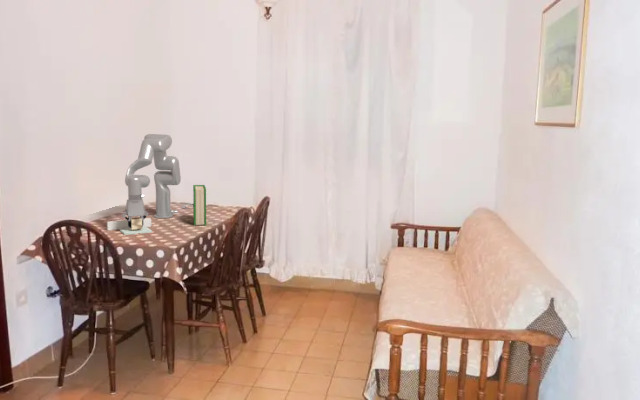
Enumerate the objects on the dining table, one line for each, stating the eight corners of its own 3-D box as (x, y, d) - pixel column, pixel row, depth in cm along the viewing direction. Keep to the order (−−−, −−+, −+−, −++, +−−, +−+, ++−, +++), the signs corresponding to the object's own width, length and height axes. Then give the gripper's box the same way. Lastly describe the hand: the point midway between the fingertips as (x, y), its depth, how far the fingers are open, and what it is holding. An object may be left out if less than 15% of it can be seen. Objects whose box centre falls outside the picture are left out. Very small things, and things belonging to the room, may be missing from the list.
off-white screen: (150, 225, 341) (150, 218, 340) (151, 226, 339) (151, 218, 339) (107, 229, 327) (107, 221, 326) (108, 230, 325) (107, 222, 325)
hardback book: (206, 225, 347) (205, 188, 343) (194, 225, 345) (194, 188, 341) (204, 220, 364) (204, 185, 360) (193, 220, 362) (193, 185, 358)
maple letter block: (139, 226, 328) (139, 217, 327) (142, 228, 324) (142, 218, 323) (129, 227, 325) (129, 217, 324) (132, 229, 320) (131, 219, 319)
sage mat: (146, 228, 334) (146, 226, 334) (152, 232, 324) (152, 230, 324) (119, 230, 325) (119, 229, 325) (124, 234, 315) (124, 233, 315)
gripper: (147, 195, 329) (148, 224, 332) (118, 197, 320) (119, 227, 323) (151, 197, 323) (152, 226, 326) (121, 199, 314) (122, 229, 317)
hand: (135, 226), depth 324 cm, fingers closed on maple letter block, 5 cm apart
